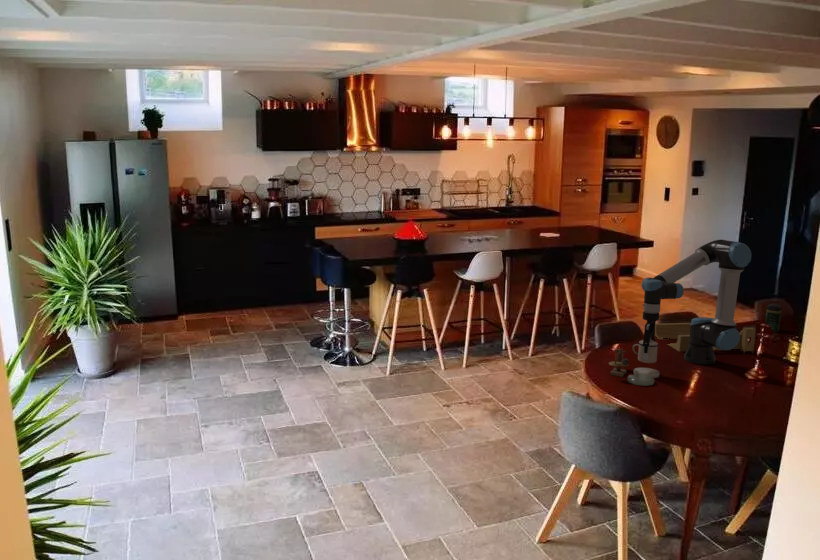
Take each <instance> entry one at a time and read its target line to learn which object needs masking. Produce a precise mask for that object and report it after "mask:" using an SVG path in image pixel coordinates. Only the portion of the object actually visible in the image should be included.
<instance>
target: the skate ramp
mask: <svg viewBox="0 0 820 560" xmlns="http://www.w3.org/2000/svg"><path fill="white" fill-rule="evenodd" d="M659 322H660V320H658V321H657V322H656V323H655V336H656V337H657V338H656V337H655V338H656V339H658V340H664V339H663V338H668V339H667V340H676V342H675V343H670V342H669V343H670V344H667V345H668V346H669V347H671V348H673V349H674V350H676V351H678V352H680V353H683V352H685V353H686V350H687V348H688V346H689V338H690V325H691V322H685V320H683V321H682V320H681V319H678V322H677V320H674V322H671V323H670V322H660V323H659ZM756 327H757V326H756V325H754V324H753V325H751V327H743V328H742V329H741V330H740V332H739V333H740V340H739V342H738V344H737V345H736V346H735V347H734V348H733V349H741V350H740V352H741V353H742V352H743V353H746V352H749V351H750V352H751V354H754V350H755V340H756V330H757V329H756ZM749 337H751V341H750V343H749V346H748V342H747V339H748V338H749ZM669 338H670V339H669ZM713 350H714V351H715V350H717V351H724V350H723V349H718V348H717V347H714V346H713Z"/></svg>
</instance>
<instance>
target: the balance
mask: <svg viewBox="0 0 820 560" xmlns="http://www.w3.org/2000/svg"><path fill="white" fill-rule="evenodd" d="M613 352H615V355H614V361H609V362H608V365H609V366H610V367H613V369H611V370H610V372H609V375H610V376H614V377H621V378H623V377H624V376H625V375H626V374H627V369H624V368H621V367H629V366H630V365H629V359H628V358H624V355H625V353H626V350H623V349H622V348H618V349H614V351H613Z"/></svg>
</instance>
